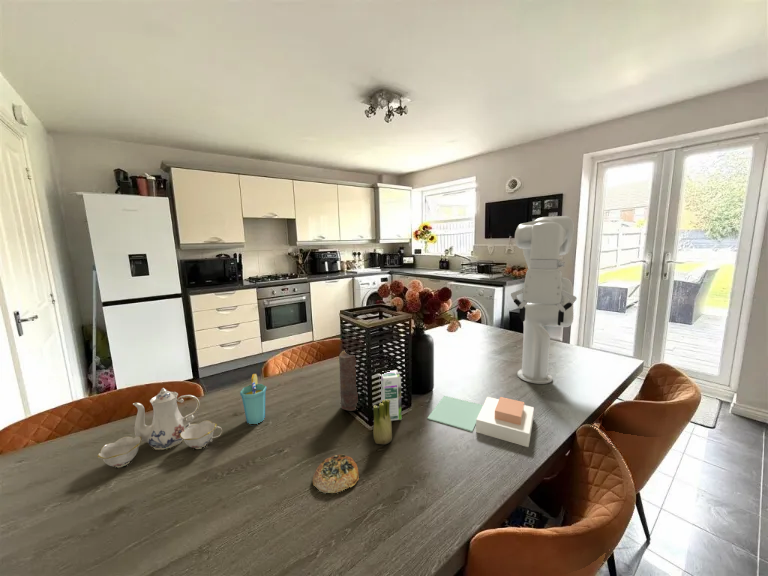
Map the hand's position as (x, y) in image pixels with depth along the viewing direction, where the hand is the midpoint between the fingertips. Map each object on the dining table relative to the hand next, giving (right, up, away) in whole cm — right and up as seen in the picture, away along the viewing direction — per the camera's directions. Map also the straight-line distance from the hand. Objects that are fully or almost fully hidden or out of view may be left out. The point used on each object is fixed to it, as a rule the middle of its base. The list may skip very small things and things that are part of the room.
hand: (540, 322), depth 91 cm
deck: (-10, -31, +1) cm, 33 cm away
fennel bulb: (-47, -33, -5) cm, 58 cm away
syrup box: (-45, -31, +7) cm, 55 cm away
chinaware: (-108, -35, -6) cm, 113 cm away
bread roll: (-58, -36, -18) cm, 71 cm away
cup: (-87, -32, +5) cm, 93 cm away
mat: (-23, -30, +8) cm, 39 cm away
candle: (-58, -31, +12) cm, 67 cm away
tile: (-9, -27, 0) cm, 29 cm away
